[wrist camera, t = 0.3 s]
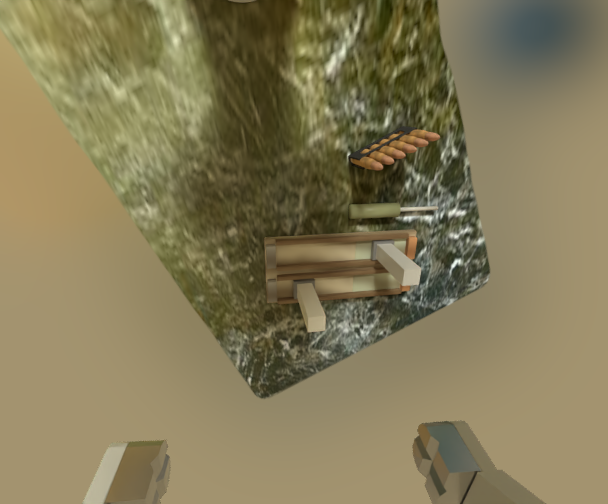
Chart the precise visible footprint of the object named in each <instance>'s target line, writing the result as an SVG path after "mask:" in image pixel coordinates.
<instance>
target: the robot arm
mask: <svg viewBox="0 0 608 504" xmlns="http://www.w3.org/2000/svg"><path fill="white" fill-rule="evenodd" d="M229 1H233V2H242V3H244V2H252V1H255V0H229ZM417 431H418V433H419V436H418V437H417V438H415V439H414V443H413V456H414V459H415V463H416V466H417V468H418V471H419V472H420V473H421V474H423V475H424V476H425V477H426V482H425V487H426V490H427V492H428V494H429V497H430V499H431V501H432V503H433V504H546V503H544V502H543V501H542V500H540V499H539V498H538V497H536V496H535V495H534V494H533V493H531V492H530V491H529V490H527V489H526V488H525V487H524V486H522V485H521V484H520V483H518V482H517V481H516V480H514V479H513V478H512V477H510V476H509V475H508V474H507V473H505V472H504V471H503V470H497V469H496V467H495V465H494V464H493V462H492V461H491V459H490V458H489V456H488V455H487V453H486V451H485V450H484V448H483V447H482V445H481V444H480V442H479V441H478V439H477V437H476V436H475V434H474V433H473V431H472V430H471V429H470V427H469V425H468V424H467V423H466V422H465V421H450V422H448V421H444V422H433V423H422V424H420V425H419V427H418V430H417ZM167 448H168V445H167V441H166V440H157V441H156V440H155V441H136V442H116V443H111V445H110V446H109V447H108V448H107V450H106V452H105V455H104V457H103V459H102V461H101V463H100V466H99V468H98V470H97V472H96V475H95V477H94V479H93V481H92V483H91V485H90V488H89V490H88V492H87V494H86V496H85V498H84V501H83V503H82V504H160V499H161V497H162V496H163V495H164V494H165V493H166V491H167V486H168V482H169V475H170V457H169V456H168V455H167V454H166V452H167Z"/></svg>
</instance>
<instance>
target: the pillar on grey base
mask: <svg viewBox="0 0 608 504" xmlns="http://www.w3.org/2000/svg"><path fill="white" fill-rule="evenodd" d="M394 242H395V241H394V240H374V241H372V248H371V259H372V260H378V261H379V262H380V263H381V264H382V265H383V266H384V267H385V268H386V269H387V271H388V272H389V273H390V274H391V275H392V276H393V277H394V278H395V279H396V280H397V281H398V282H399V283H400V284H401V285H402V286H407V285H419V280H420V274H421V268H420V267H419V266H418V265H416V264H415V263H414V262H413V261H412V260H411V259H409V258H408V257H407V256H406V255H405V254H403V253H402V252H401V251H400V250H399V249H397V248H396V247H395V246H394Z"/></svg>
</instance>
